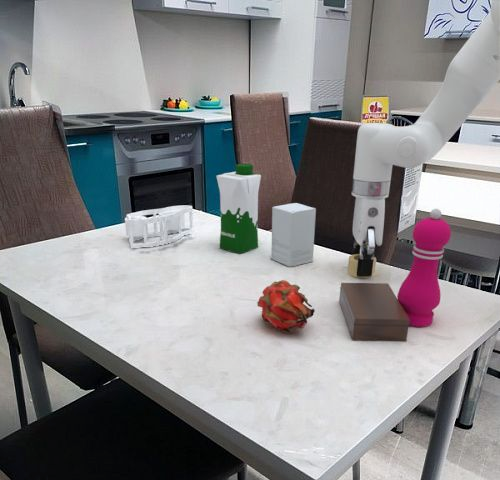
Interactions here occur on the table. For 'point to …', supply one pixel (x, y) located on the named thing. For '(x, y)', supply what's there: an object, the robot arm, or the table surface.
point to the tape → (353, 266)
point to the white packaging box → (293, 234)
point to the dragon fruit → (284, 306)
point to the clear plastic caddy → (172, 224)
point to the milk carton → (239, 209)
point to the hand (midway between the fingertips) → (361, 269)
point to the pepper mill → (424, 270)
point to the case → (373, 312)
